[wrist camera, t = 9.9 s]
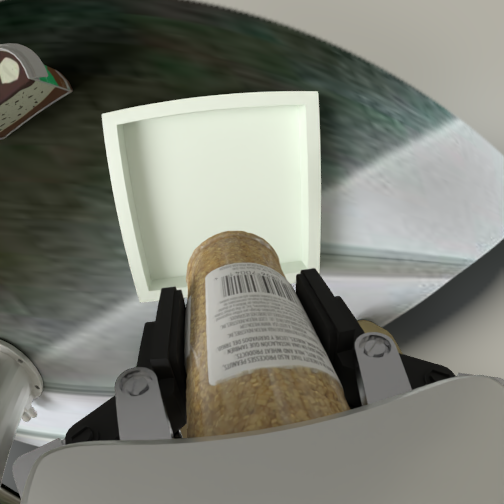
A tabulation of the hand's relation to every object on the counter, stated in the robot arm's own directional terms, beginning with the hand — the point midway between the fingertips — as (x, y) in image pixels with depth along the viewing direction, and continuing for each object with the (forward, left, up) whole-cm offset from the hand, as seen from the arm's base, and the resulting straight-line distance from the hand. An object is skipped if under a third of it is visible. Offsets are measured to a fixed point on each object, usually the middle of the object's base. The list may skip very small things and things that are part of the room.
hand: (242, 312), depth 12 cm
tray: (0, 0, -19) cm, 19 cm away
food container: (+14, +18, -19) cm, 30 cm away
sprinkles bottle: (0, 0, -4) cm, 4 cm away
